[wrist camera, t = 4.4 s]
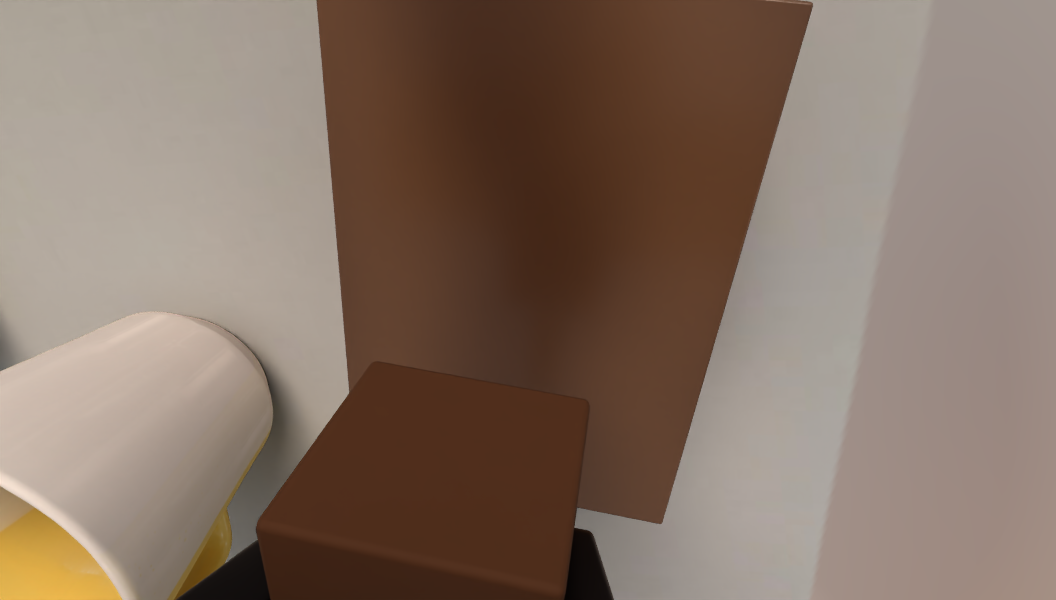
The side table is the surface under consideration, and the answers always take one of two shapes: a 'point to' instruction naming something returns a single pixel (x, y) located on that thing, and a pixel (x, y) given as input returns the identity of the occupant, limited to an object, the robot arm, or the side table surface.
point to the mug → (126, 459)
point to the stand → (554, 200)
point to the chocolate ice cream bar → (431, 494)
